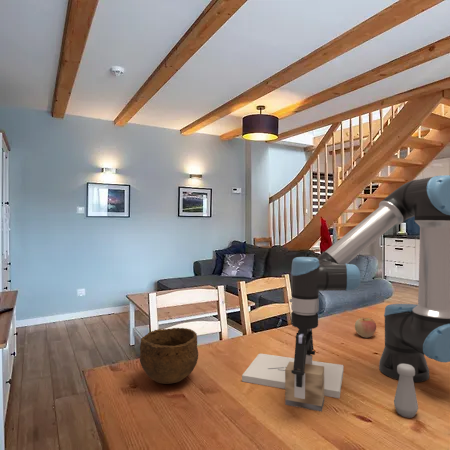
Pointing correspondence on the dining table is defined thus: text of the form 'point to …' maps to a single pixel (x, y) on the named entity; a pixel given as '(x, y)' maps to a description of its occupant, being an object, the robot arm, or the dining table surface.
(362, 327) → the apple
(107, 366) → the dining table surface
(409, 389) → the salt shaker
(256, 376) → the board
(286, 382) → the block
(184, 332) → the bowl
